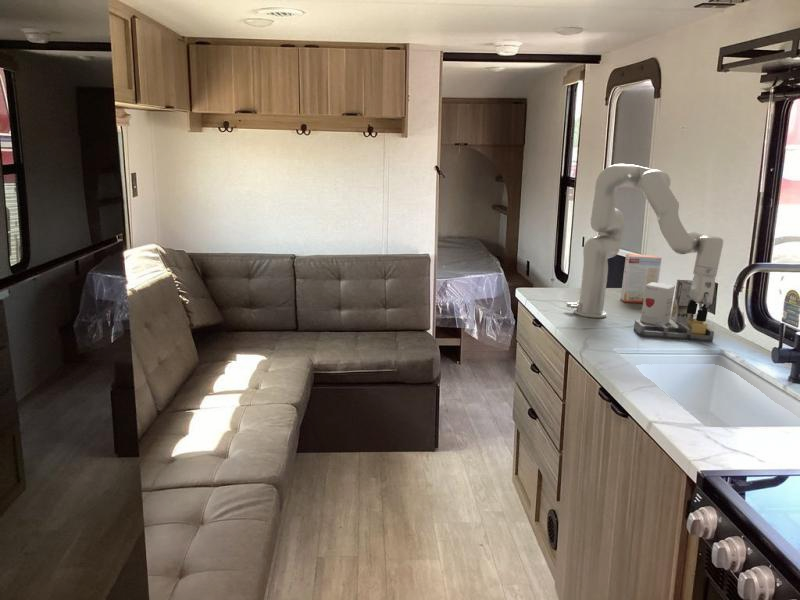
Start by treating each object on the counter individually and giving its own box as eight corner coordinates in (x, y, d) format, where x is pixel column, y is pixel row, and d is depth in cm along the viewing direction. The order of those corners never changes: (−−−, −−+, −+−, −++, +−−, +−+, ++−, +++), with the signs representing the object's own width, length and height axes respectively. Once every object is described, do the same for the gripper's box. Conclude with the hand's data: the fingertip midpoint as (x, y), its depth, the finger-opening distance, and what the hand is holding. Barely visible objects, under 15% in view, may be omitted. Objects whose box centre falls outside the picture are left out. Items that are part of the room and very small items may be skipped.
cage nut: (704, 337, 230) (707, 322, 229) (690, 336, 230) (692, 321, 229) (699, 333, 235) (702, 319, 234) (685, 332, 235) (687, 318, 234)
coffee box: (692, 325, 252) (699, 284, 248) (675, 323, 253) (681, 283, 249) (687, 319, 260) (694, 280, 256) (670, 317, 261) (676, 278, 258)
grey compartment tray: (640, 336, 230) (641, 326, 229) (633, 330, 239) (635, 319, 238) (712, 342, 228) (714, 331, 227) (702, 335, 237) (704, 324, 236)
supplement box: (639, 321, 252) (644, 284, 248) (646, 317, 259) (651, 281, 255) (663, 326, 246) (669, 288, 243) (669, 322, 253) (675, 285, 250)
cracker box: (650, 301, 290) (657, 255, 285) (655, 304, 284) (662, 257, 279) (619, 299, 290) (625, 253, 285) (623, 302, 284) (630, 255, 280)
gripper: (726, 277, 219) (715, 325, 223) (707, 267, 235) (697, 312, 240) (703, 275, 219) (693, 323, 224) (686, 265, 236) (677, 310, 240)
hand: (695, 317), depth 232 cm, fingers open, 9 cm apart
